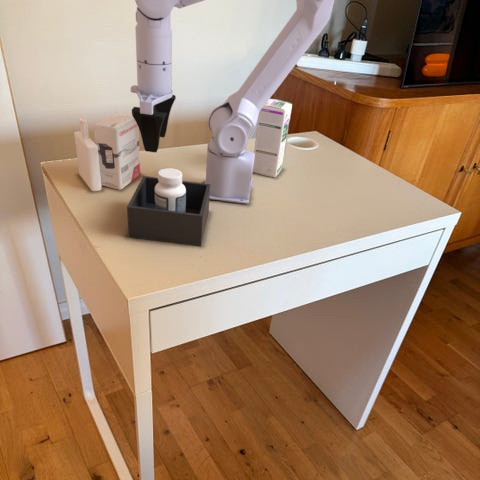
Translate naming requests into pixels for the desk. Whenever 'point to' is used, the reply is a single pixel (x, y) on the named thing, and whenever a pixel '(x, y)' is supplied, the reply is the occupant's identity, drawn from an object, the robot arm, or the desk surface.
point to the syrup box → (271, 137)
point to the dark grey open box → (168, 214)
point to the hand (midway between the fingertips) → (155, 143)
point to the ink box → (118, 150)
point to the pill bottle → (170, 191)
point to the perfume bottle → (87, 157)
